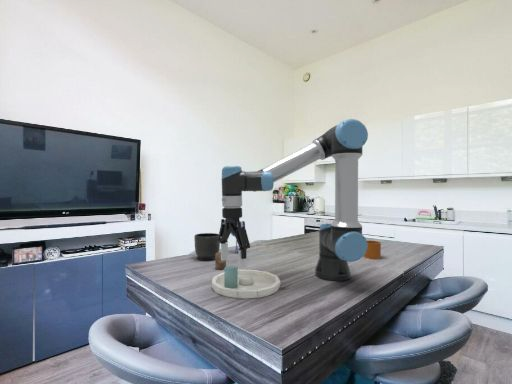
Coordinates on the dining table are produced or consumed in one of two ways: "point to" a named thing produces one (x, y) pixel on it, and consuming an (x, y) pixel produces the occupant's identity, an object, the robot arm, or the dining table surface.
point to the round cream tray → (248, 284)
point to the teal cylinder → (230, 277)
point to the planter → (206, 245)
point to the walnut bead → (219, 262)
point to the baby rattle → (236, 243)
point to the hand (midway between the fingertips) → (233, 263)
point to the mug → (373, 250)
